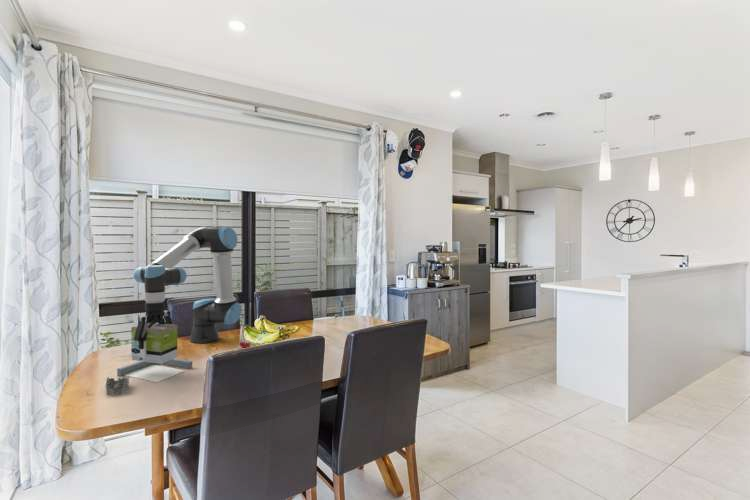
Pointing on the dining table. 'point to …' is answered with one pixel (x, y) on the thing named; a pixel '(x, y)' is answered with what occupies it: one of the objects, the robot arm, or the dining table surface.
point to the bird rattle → (244, 345)
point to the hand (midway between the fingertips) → (155, 352)
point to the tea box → (156, 343)
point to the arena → (154, 370)
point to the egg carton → (117, 385)
